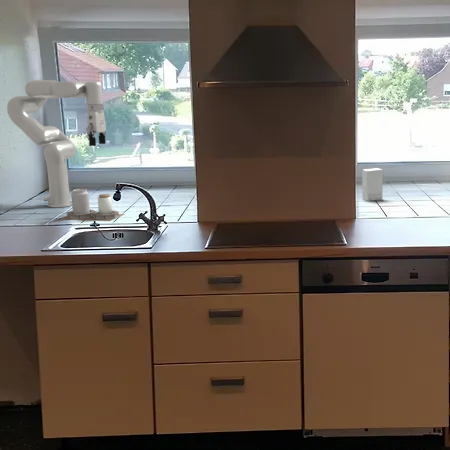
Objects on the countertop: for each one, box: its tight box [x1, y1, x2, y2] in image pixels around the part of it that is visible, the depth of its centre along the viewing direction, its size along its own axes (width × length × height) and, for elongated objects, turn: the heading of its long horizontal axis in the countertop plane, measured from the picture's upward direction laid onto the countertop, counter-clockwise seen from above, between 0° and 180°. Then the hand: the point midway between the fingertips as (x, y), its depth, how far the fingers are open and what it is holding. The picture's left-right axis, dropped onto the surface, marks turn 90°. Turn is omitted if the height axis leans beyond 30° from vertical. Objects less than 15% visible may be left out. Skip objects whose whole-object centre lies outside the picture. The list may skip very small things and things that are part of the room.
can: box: [70, 188, 90, 214], centre depth 295 cm, size 8×8×12 cm
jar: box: [97, 193, 114, 214], centre depth 291 cm, size 6×6×10 cm
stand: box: [59, 209, 125, 222], centre depth 294 cm, size 25×15×3 cm, turn 73°
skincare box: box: [361, 167, 384, 202], centre depth 320 cm, size 8×6×15 cm
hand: (97, 144), depth 316 cm, fingers open, 9 cm apart
